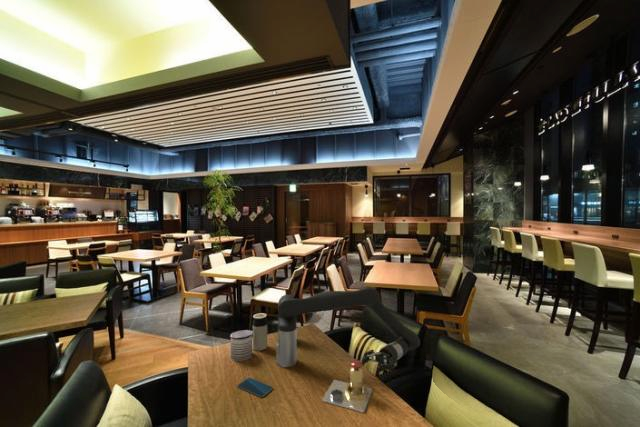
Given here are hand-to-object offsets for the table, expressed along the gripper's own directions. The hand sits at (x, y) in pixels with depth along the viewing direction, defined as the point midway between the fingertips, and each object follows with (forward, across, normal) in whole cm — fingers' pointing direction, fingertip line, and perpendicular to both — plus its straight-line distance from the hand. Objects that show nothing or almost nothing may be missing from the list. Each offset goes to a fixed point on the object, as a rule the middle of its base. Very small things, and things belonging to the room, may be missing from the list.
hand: (370, 365), depth 120 cm
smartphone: (+38, -33, +9) cm, 51 cm away
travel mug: (+18, -63, +8) cm, 66 cm away
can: (+30, -62, +8) cm, 69 cm away
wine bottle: (+1, -60, +8) cm, 61 cm away
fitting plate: (+12, -2, +8) cm, 15 cm away
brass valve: (+9, 0, +8) cm, 12 cm away
